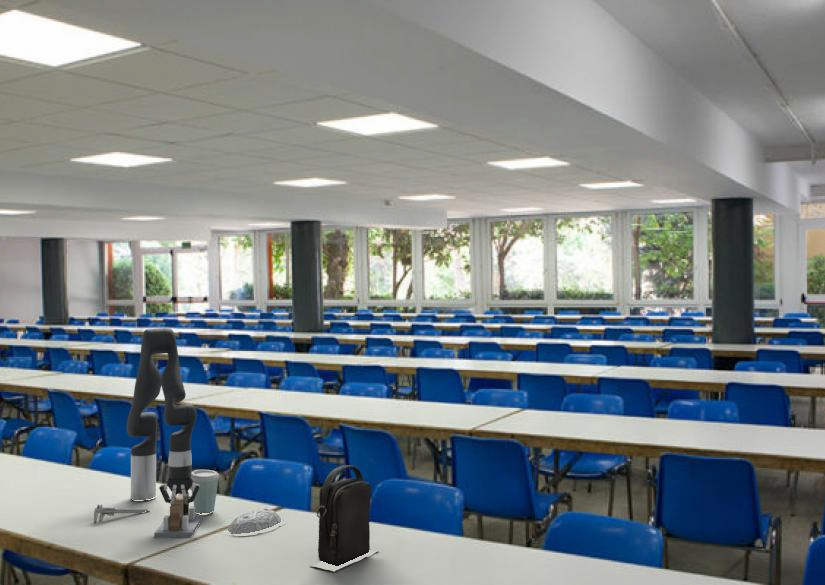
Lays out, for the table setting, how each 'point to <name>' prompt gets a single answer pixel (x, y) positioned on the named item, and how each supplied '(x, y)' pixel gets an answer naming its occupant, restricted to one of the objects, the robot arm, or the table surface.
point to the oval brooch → (254, 521)
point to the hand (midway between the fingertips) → (179, 514)
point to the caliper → (112, 512)
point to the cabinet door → (177, 513)
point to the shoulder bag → (343, 518)
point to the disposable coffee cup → (205, 490)
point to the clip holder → (187, 528)
